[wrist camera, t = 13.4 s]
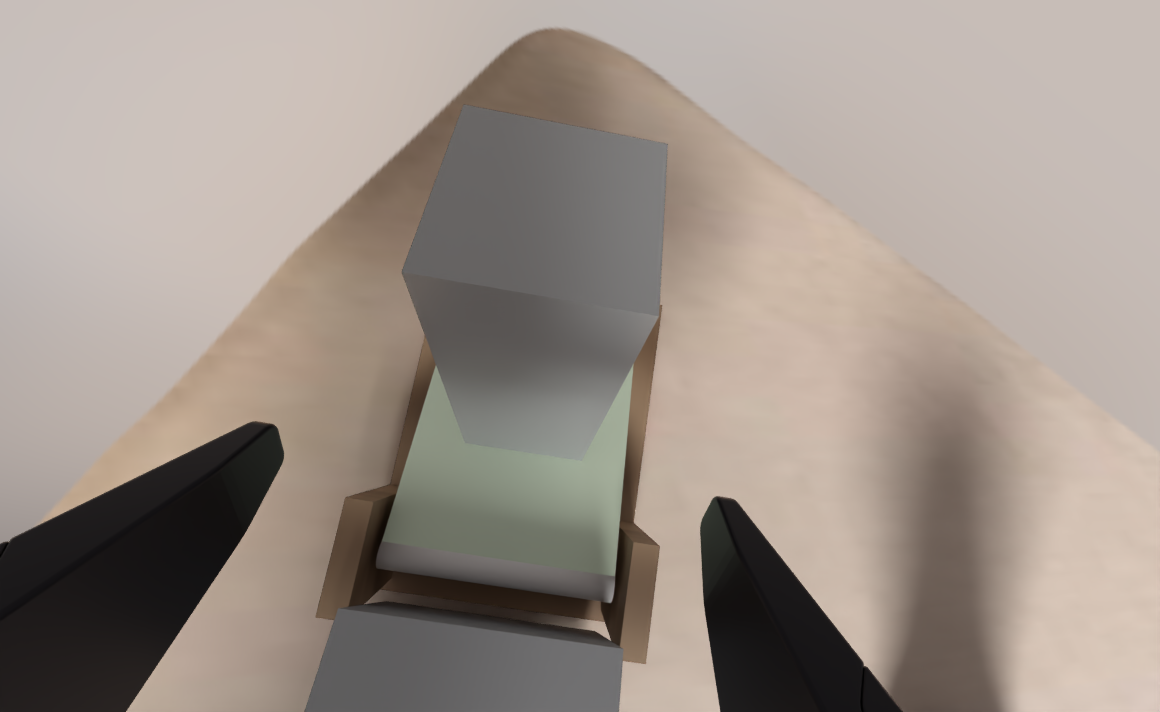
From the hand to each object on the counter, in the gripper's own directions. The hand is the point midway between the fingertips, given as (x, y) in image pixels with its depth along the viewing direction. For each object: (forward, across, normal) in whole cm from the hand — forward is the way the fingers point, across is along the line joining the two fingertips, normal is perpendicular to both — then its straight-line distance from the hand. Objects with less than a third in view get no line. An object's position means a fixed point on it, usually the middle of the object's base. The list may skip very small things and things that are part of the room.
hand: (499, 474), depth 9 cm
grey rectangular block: (+10, 0, +6) cm, 11 cm away
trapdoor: (+8, 0, +11) cm, 13 cm away
